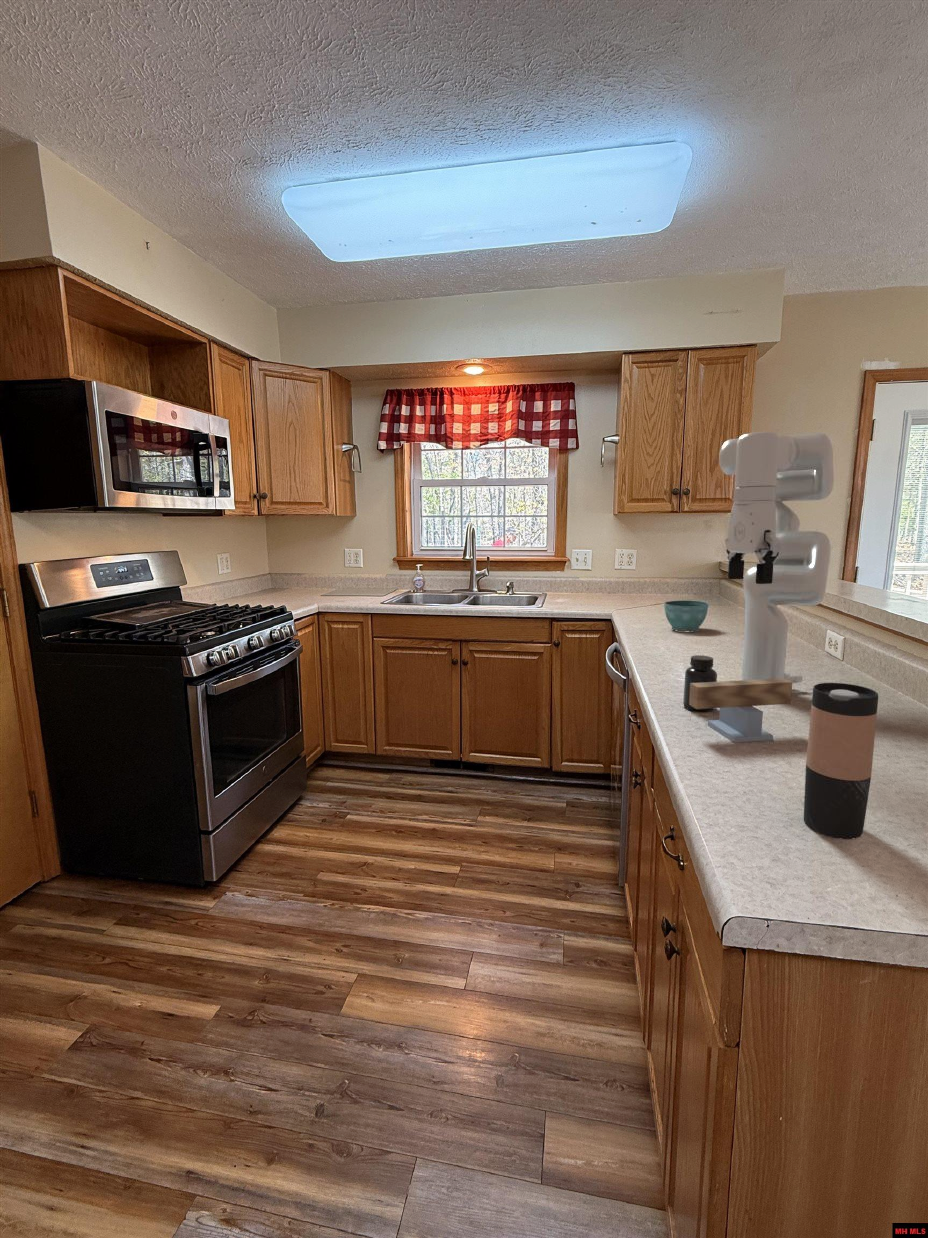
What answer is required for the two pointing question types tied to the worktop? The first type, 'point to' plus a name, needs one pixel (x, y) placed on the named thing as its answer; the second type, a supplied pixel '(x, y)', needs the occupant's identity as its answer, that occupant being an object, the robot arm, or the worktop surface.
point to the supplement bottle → (698, 677)
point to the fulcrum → (741, 724)
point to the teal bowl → (686, 614)
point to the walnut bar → (740, 693)
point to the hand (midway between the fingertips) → (749, 581)
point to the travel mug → (839, 758)
